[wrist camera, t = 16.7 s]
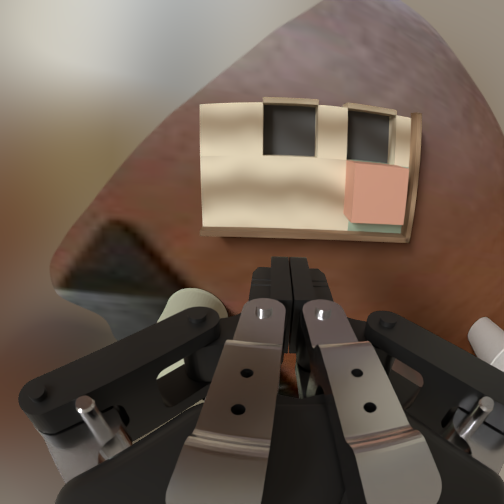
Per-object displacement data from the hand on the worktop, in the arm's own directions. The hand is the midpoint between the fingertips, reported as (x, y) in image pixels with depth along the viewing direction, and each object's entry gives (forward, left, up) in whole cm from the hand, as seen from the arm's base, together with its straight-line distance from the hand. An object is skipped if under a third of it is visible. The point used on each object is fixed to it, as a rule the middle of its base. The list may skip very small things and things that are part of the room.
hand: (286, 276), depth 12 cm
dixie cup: (-22, -39, -22) cm, 50 cm away
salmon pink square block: (+1, -10, -20) cm, 22 cm away
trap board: (+3, -3, -22) cm, 22 cm away
